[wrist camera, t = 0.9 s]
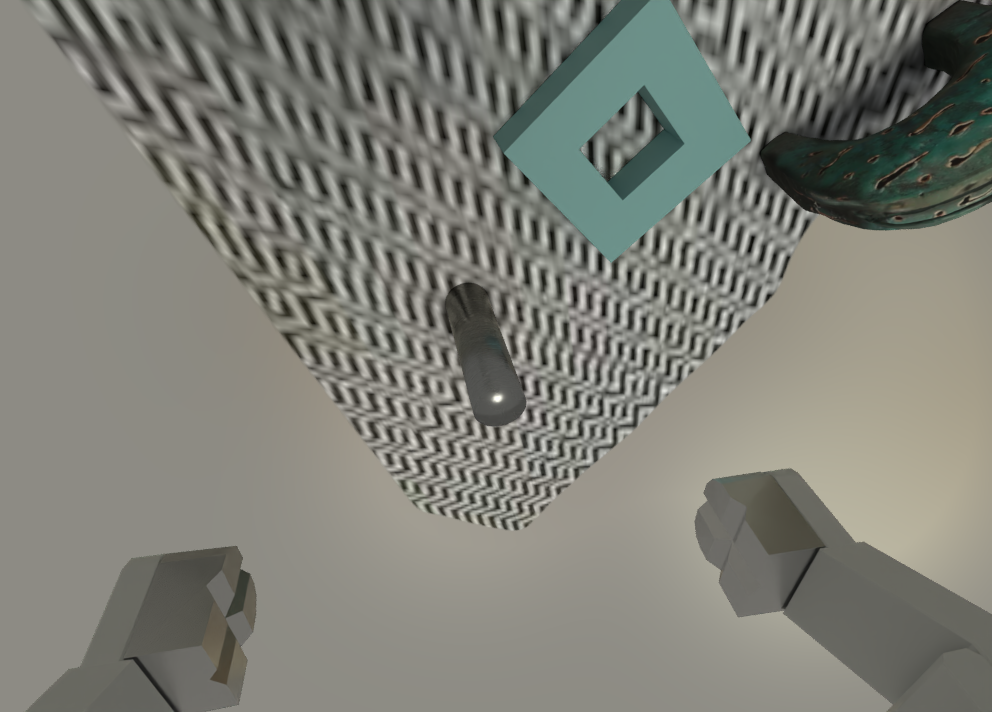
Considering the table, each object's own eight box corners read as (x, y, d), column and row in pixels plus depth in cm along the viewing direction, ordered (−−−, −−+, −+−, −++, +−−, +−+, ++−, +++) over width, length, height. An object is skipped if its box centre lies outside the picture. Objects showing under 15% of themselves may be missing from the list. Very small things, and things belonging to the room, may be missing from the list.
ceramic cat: (980, -31, 42) (1338, 13, 27) (982, 44, 46) (1295, 119, 31) (745, 142, 47) (936, 260, 32) (765, 196, 51) (944, 323, 36)
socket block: (493, 136, 42) (503, 153, 39) (639, -20, 37) (662, -13, 34) (596, 243, 50) (611, 262, 47) (727, 126, 45) (750, 140, 43)
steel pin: (436, 304, 50) (462, 412, 40) (466, 275, 49) (501, 379, 39) (466, 325, 53) (498, 433, 42) (496, 298, 51) (536, 402, 41)
